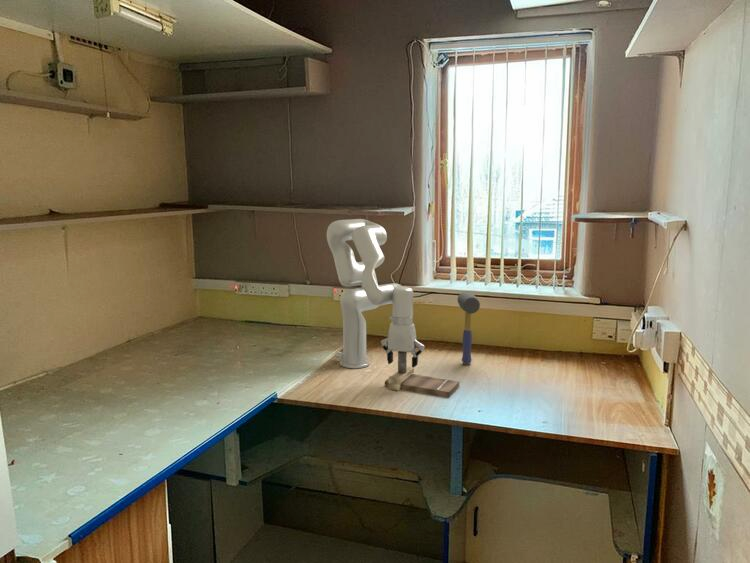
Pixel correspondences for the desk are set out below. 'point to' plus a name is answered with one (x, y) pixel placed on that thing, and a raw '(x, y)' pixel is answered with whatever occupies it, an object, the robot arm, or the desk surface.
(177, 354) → the desk surface
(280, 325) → the desk surface
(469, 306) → the rubber mallet
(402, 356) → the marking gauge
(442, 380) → the walnut board
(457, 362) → the desk surface
